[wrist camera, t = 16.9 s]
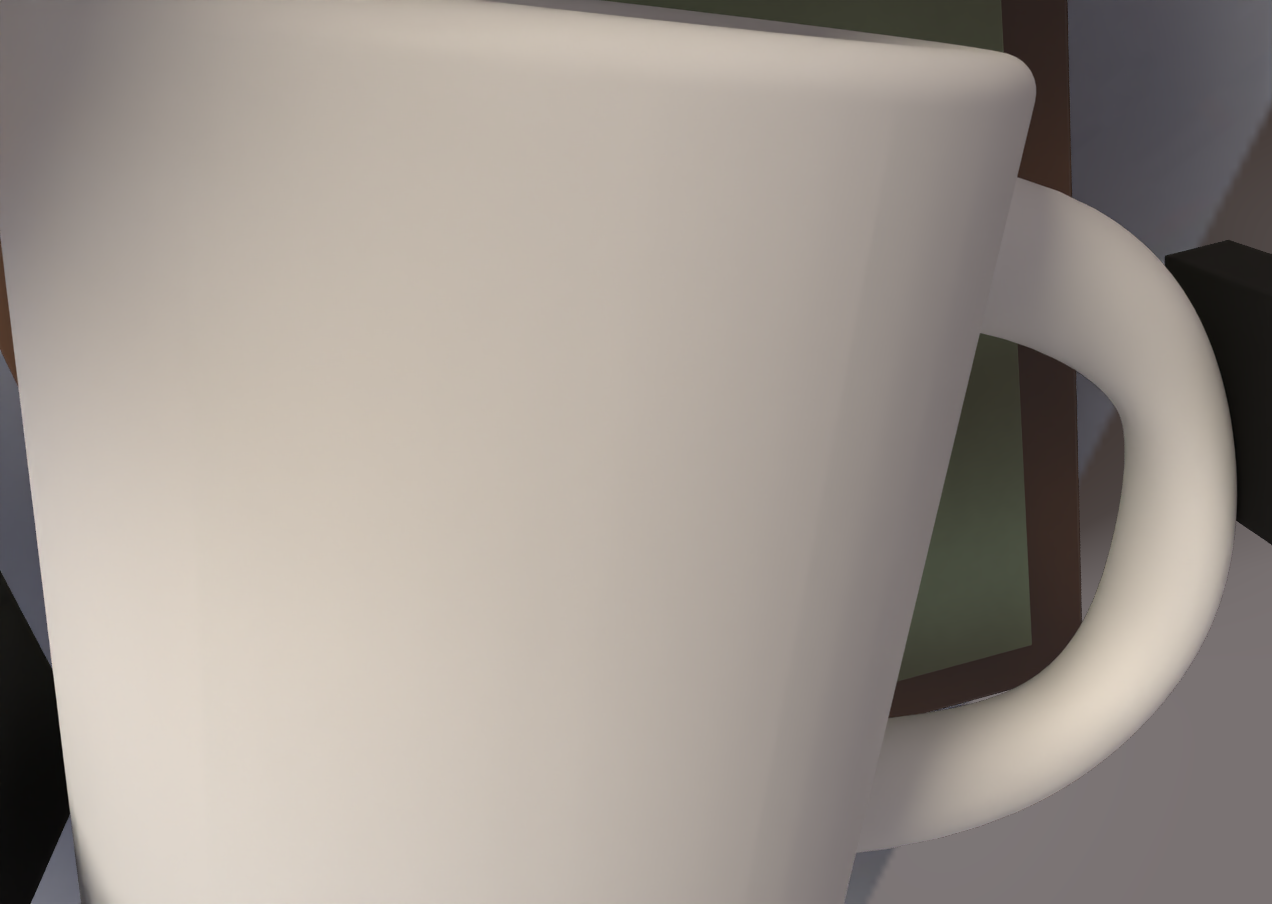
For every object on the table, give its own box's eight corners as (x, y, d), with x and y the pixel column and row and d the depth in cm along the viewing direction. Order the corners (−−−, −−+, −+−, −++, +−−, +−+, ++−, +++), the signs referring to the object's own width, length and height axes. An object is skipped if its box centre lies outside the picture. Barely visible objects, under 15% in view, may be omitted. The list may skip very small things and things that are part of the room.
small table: (933, 507, 24) (1091, 678, 18) (304, 671, 23) (258, 907, 17) (868, -226, 18) (1072, -318, 12) (13, -44, 17) (-206, -50, 11)
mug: (185, 712, 16) (-32, 1353, 8) (134, -53, 12) (-348, -89, 4) (960, 701, 18) (1313, 1195, 11) (1132, 60, 14) (1865, 154, 7)
